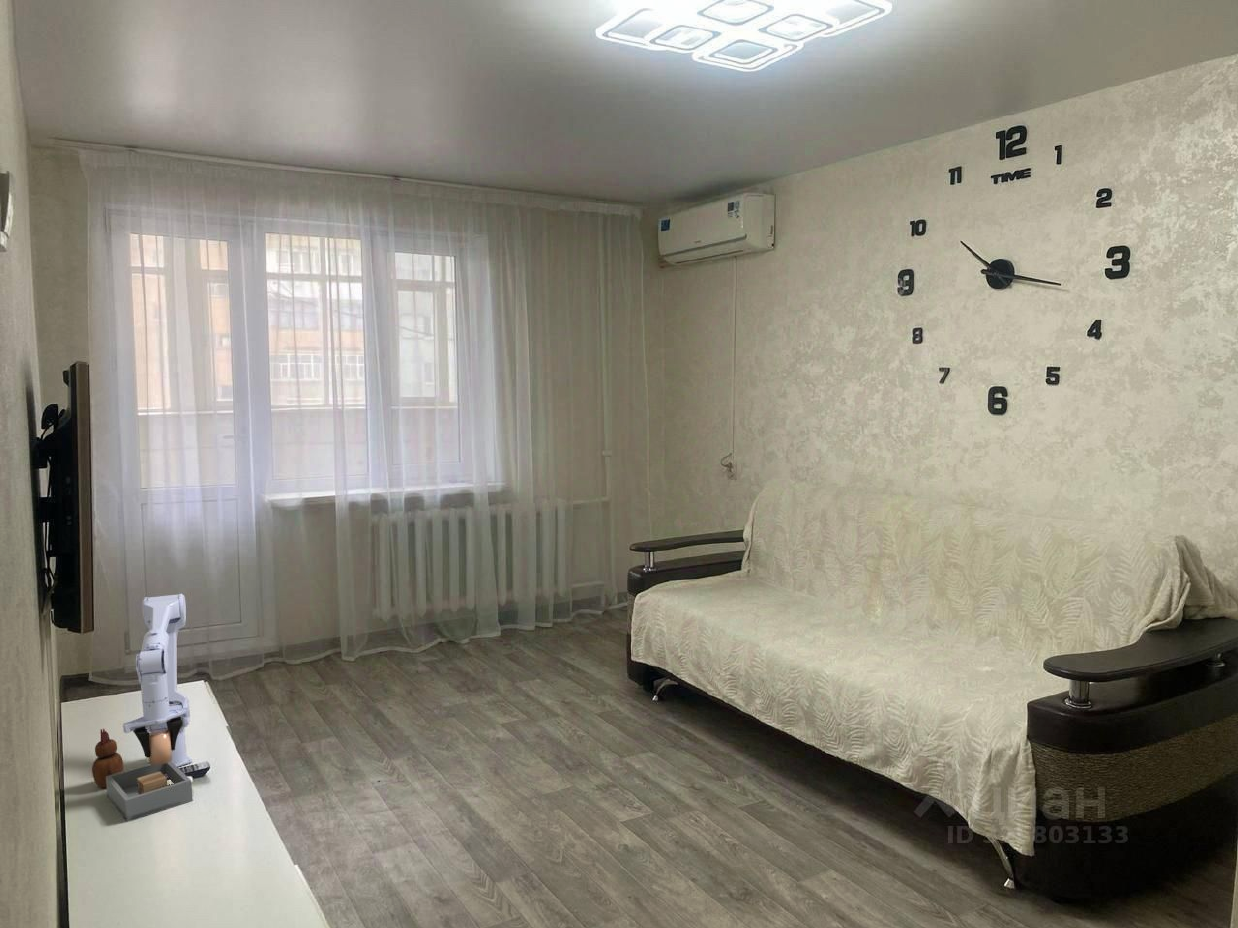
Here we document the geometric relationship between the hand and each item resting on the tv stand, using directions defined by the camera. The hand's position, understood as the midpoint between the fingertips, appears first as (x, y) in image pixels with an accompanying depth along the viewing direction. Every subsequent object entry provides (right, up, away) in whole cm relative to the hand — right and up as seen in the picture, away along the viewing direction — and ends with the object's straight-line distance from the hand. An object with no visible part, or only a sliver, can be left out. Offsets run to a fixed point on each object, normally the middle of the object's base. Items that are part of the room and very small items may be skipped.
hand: (159, 752), depth 218 cm
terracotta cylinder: (0, -2, 0) cm, 2 cm away
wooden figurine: (-14, -9, +4) cm, 18 cm away
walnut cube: (+2, -9, -7) cm, 11 cm away
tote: (0, -9, -5) cm, 11 cm away
